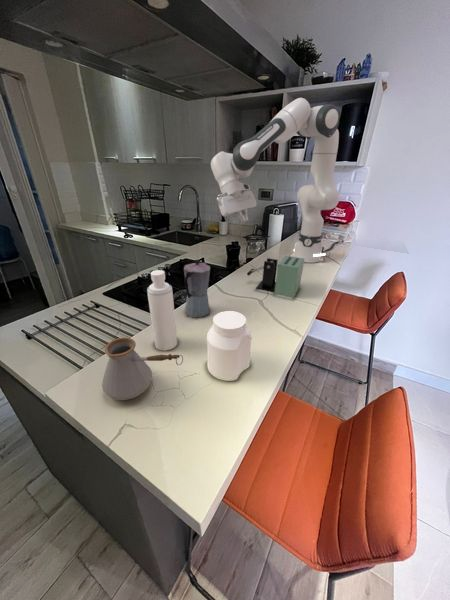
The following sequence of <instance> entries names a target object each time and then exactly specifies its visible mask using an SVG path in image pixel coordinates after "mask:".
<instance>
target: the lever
mask: <svg viewBox="0 0 450 600" xmlns="http://www.w3.org/2000/svg"><path fill="white" fill-rule="evenodd" d="M270 262H274V261H270ZM261 270H264V265H262V266H259V267H257V268H251V269H250V270H249V271H248V272H247V273H246V275H247V276H250V275H252V274H254V273H256V272H260V271H261Z"/></svg>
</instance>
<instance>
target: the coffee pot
mask: <svg viewBox="0 0 450 600" xmlns="http://www.w3.org/2000/svg"><path fill="white" fill-rule="evenodd" d="M136 346H137V345H136V341H135V340H134V338H131V337H119V338H114V339H112V340H111V341H110V342H108V343H107V344H106V345H105V346H104V347H105V348H104V353H105V354H106V356H107V357H108V360H107V364H106V368H105V371H104V374H103V379H102V382H101V388H102V391H103V392H104V394H105V395H106V396H108V397H109V398H111V399H112V400H115V401H116V400H117V401H128V400H132V399H134V398H137V397H138V396H140V395H141V394H143V393H145V391H146V390H147V389H148V388H149V386H150V384H151V383H152V379H153V371H152V369H151V367H150V366H149V365H148V364H147V362H146V361H148V362H162V361H167V360H169V361H172V360H175V364H176V365H177V366H181V365H182V364H183V363H184V356H183V355H182V354H172V353H169V354H156V355H150V356H140V354H138V352H136V350H135V348H136ZM180 357H181V363H178V359H180Z"/></svg>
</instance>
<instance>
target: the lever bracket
mask: <svg viewBox="0 0 450 600" xmlns="http://www.w3.org/2000/svg"><path fill="white" fill-rule="evenodd" d="M270 261H274V262H270ZM278 261H279V260H278V259H275V258H269V257H268V258H266V260H264V261H263V266H264V269H262V270H263V271H262V280H261V282H259V284H258V285H257V286H256V287H255V289H256V290H260V291H264V292H269V293H273V294H275V285H276V277H277V269H278V263H279V262H278Z"/></svg>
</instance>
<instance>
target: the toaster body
mask: <svg viewBox="0 0 450 600" xmlns="http://www.w3.org/2000/svg"><path fill="white" fill-rule="evenodd" d="M304 264H305V262H304V258H298V257H292V256H290V255H284V256H283V258H282V259H281V260H280V261H279V262H278V263H277V271H276V279H275V282H276V285H275V292H274V295H277V296H283V297H286V298H292V299H294V298H295V296H296V294H297V293H298V291H299V289H300V287H301V281H302V275H303V271H304Z"/></svg>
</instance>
